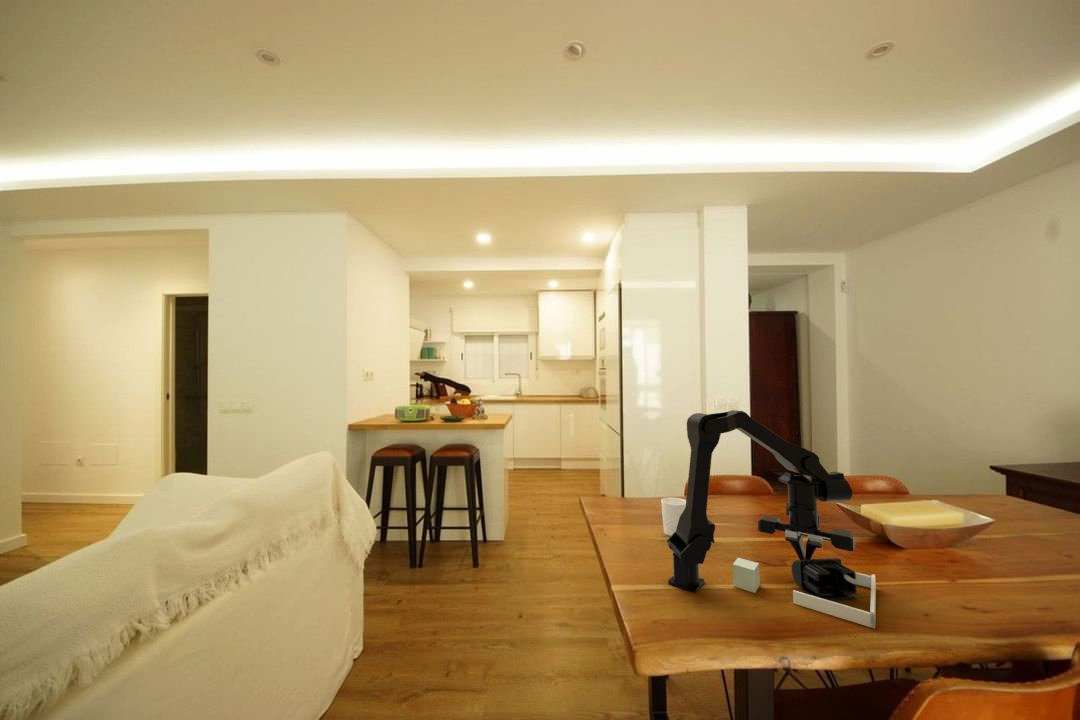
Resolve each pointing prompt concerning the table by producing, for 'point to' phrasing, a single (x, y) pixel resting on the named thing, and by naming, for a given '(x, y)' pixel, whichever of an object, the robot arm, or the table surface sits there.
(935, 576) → the table surface
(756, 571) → the block
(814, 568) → the end cap
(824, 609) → the white u-shaped frame
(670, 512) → the white cup
